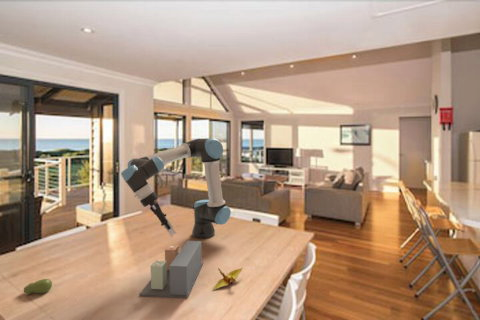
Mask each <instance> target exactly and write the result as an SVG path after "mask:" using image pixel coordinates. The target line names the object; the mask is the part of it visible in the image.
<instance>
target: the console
mask: <svg viewBox="0 0 480 320" xmlns="http://www.w3.org/2000/svg"><path fill="white" fill-rule="evenodd" d="M203 266H204V263H202V240H187V241H186V242H185V244H184V245H183V246H182V247H181V249H180V250H179V251H178V255H177V256H176V257H175V259H174V260H173V262H172V263H171V264H170V270H167V284H166V286H165V287H164V289H163V290H161V289H151V279H150V280H149V281H148V283H146V285H145V287H144V288H143V289H142V291H140V293H139V294H138V295H139V297H146V298H147V297H148V298H167V299H168V298H169V299H186V300H187V299H189V296H190V294H191V292H192V289H193V288H194V285H195V283H196V281H197V279H198V278H199V275H200V272H201V270H202V268H203Z"/></svg>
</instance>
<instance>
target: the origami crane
mask: <svg viewBox="0 0 480 320" xmlns="http://www.w3.org/2000/svg"><path fill="white" fill-rule="evenodd" d="M217 270H218V271H219V273H220V275H221V276H222V278H220V279H219V280H218V281H217V282H216V284H215V285H214V287H212V291H214V290H218V289H220V288H222V287H227V286H229V285H230V286H231V285H233V284H234V283H237V280H236V279H238V277H239V275H240V273H241V272H242V270H243V267H241V268H237V269H233V270H231V271H230V272H229V273H227V275H226V274H225V273H224V272H223V271H222V269H220V268H219V267H218V269H217Z"/></svg>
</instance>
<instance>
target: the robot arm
mask: <svg viewBox="0 0 480 320" xmlns="http://www.w3.org/2000/svg"><path fill="white" fill-rule="evenodd" d="M223 153H224V146H223V144H222V142H221V141H220V140H218V139H217V138H210V137H209V138H195V139H192V140H190V141H186V142H183V143H181V144H180V145H179V146H176V147H173V148H169V149H167V150H163V151H159V152H155V153H153V154H148V155H146V156H143V157H140V158H132V159H130V160H129V161H128V162H127V168H125V169H123V170H122V171H121V173H120V176H121V177H122V179H123V180H124V182H125V183H126V184H127V186H128V187H129V188H130V189H131V191H132V192H133V193H134V197H136V198H137V199H138V200H140V203H141V205H142V206H143V207H148V206H149V207H150V208H149V209H150V211H151V212H152V213H153V214H154V215H155V216H156V217H157V219H158V220H159V222H160V223H161V224H160V225H161V226H162V227H164V229H165V230H166V232H167V233H168V235H170V237H173V236H174V235H175V234H177V232H176V230H175V229H174V226H173V225H172V223H171V222H170V220H169V219H168V218H167V213H164V212H163V211H162V208H161V206H160V205H159V203H158V202H156V200H157V199H158V195H157V194H156V192H155V191H153V190H154V189H153V187H151V185H150V184H149V183H148V180H149V179H150V178H152V177H154V176H155V175H157V174H158V173H161V172H162V171H163V170H164V169H165V165H167V164H170V163H173V162H178V161H180V160H182V159H184V158H185V159H190V158H200V162H201V163H202V164H203V165H204V171H205V172H204V174H205V181H206V188H207V195H208V199H200V200H197V201H195V202H194V204H193V211H194V212H193V215H194V224H193V228H192V231H191V236H192V237H193V238H196V239H208V238H209V239H210V238H212V237H213V236H215V234H216V230H215V227H214V225H213V224H216V225H221V226H222V225H225V224H227V222H228V221H229V220H230V218H231V208H230V207H229V206H227V203H226V200H225V199H224V197H223V189H222V183H221V174H220V165H219V162H220V161H221V157H222V156H223Z"/></svg>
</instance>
